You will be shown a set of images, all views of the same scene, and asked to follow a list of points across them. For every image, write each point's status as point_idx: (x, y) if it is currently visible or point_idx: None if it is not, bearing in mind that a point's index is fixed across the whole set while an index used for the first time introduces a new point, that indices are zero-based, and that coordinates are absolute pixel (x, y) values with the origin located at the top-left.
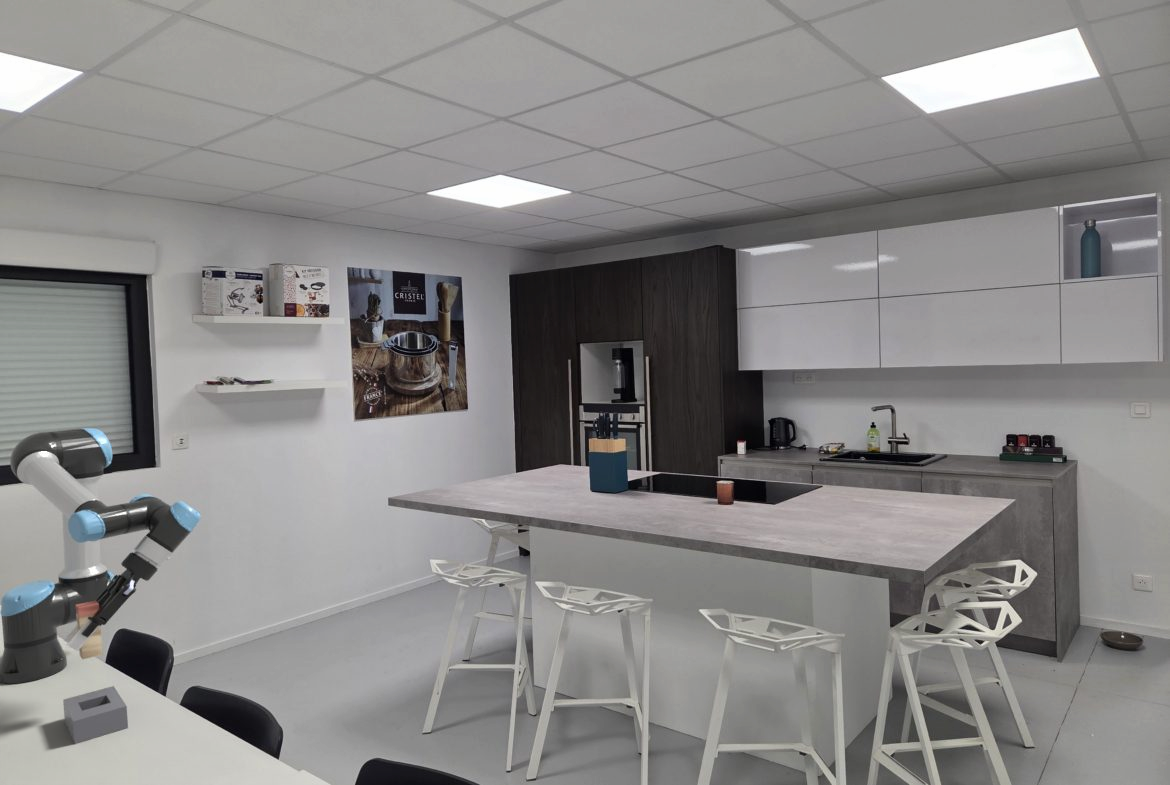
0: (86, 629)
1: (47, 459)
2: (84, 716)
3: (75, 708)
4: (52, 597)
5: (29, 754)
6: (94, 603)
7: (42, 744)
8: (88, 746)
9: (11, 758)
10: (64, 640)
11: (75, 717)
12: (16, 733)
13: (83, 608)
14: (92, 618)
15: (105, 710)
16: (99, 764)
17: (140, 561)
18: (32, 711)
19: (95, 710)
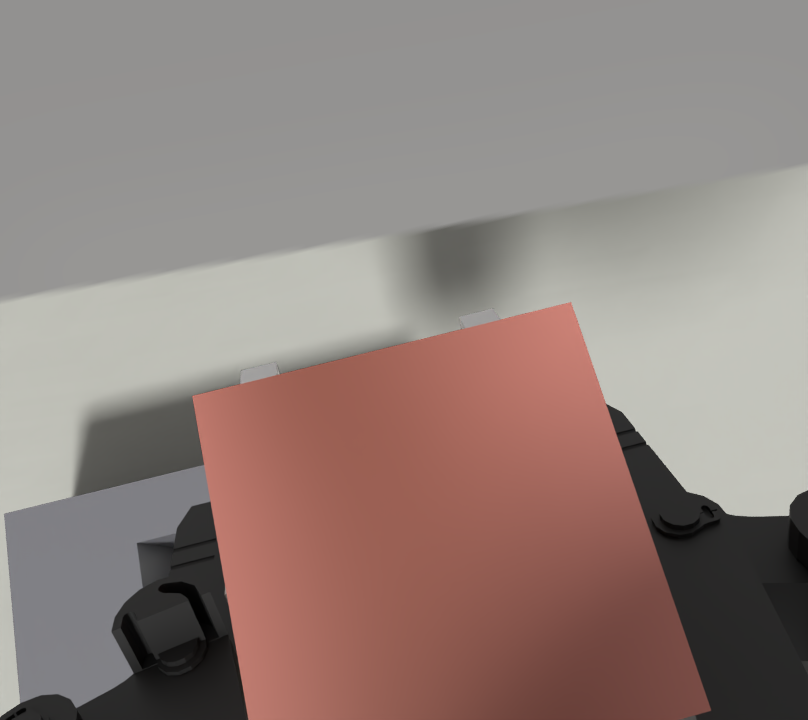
0: (183, 557)
1: None
2: (36, 565)
3: (197, 502)
4: None
5: (101, 349)
6: (403, 711)
7: (177, 384)
8: (8, 587)
9: (109, 289)
10: (461, 322)
11: (57, 518)
12: (383, 260)
13: (216, 491)
14: (126, 658)
15: (47, 677)
16: None
17: None
18: (630, 280)
19: (85, 618)
